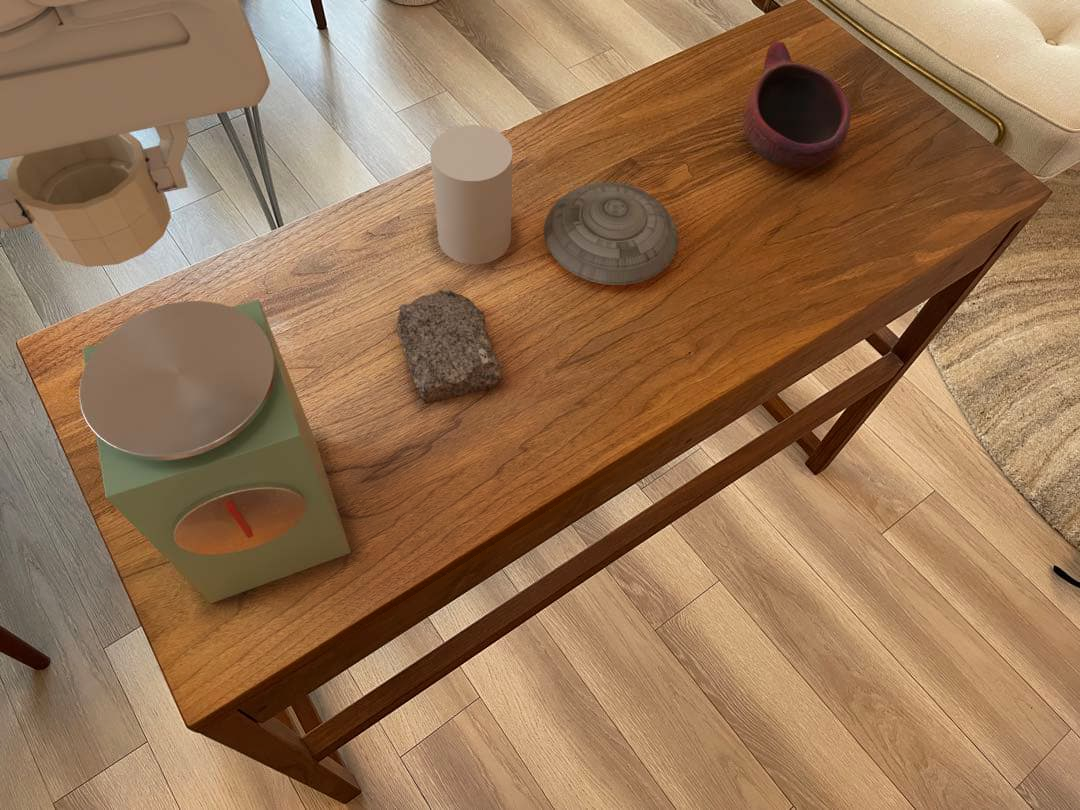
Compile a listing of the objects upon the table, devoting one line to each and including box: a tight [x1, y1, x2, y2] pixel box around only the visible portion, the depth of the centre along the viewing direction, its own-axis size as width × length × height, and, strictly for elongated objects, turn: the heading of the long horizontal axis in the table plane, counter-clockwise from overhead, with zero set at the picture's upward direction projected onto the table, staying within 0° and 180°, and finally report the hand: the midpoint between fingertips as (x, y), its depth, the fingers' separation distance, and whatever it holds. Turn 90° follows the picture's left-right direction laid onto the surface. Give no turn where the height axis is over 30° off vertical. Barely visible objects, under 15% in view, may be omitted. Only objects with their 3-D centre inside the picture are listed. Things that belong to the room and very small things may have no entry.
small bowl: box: [6, 132, 172, 268], centre depth 42 cm, size 6×6×4 cm
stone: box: [396, 289, 502, 404], centre depth 79 cm, size 12×9×4 cm
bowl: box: [742, 40, 852, 169], centre depth 97 cm, size 16×13×8 cm
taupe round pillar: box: [430, 124, 514, 266], centre depth 84 cm, size 8×8×12 cm
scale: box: [78, 299, 352, 604], centre depth 61 cm, size 12×13×23 cm
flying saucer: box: [543, 181, 679, 286], centre depth 88 cm, size 15×15×6 cm
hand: (97, 200), depth 42 cm, fingers closed on small bowl, 6 cm apart
